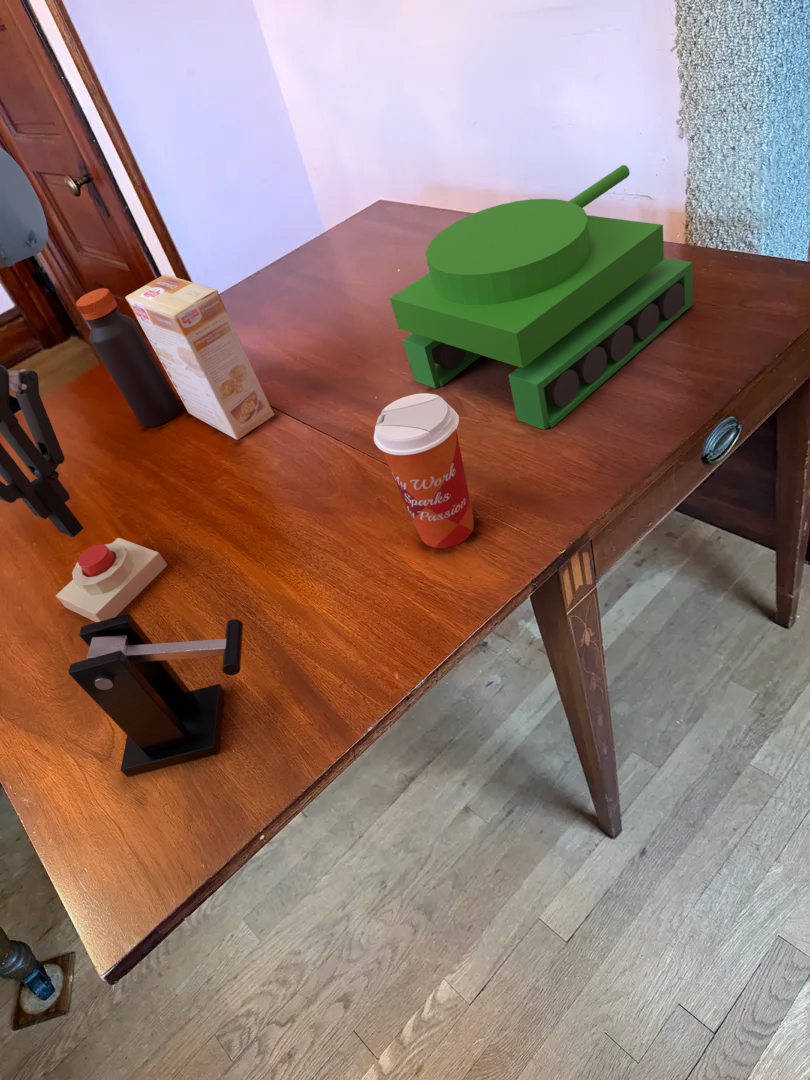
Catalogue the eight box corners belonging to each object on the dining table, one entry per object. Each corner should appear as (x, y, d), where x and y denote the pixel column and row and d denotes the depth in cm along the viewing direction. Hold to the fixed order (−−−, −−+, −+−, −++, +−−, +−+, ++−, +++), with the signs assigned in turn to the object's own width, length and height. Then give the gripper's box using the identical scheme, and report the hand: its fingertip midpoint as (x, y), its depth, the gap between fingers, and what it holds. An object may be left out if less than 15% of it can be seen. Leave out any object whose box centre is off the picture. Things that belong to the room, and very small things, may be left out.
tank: (719, 289, 100) (722, 162, 89) (547, 431, 87) (526, 305, 77) (575, 263, 116) (562, 153, 105) (413, 380, 104) (380, 269, 93)
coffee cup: (402, 557, 79) (359, 445, 69) (418, 504, 84) (381, 393, 74) (479, 555, 76) (446, 439, 66) (491, 500, 81) (462, 385, 71)
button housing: (105, 627, 83) (86, 604, 81) (65, 607, 88) (46, 585, 85) (167, 565, 88) (151, 541, 86) (127, 549, 93) (110, 526, 90)
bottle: (132, 427, 116) (59, 310, 102) (158, 401, 120) (91, 285, 106) (163, 429, 112) (92, 309, 99) (190, 402, 116) (124, 283, 103)
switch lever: (244, 633, 66) (241, 614, 64) (241, 678, 62) (238, 660, 60) (102, 643, 64) (95, 624, 63) (90, 690, 61) (82, 671, 59)
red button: (98, 580, 84) (89, 570, 83) (80, 572, 86) (71, 562, 85) (121, 558, 86) (113, 547, 84) (103, 551, 88) (95, 540, 86)
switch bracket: (224, 690, 72) (156, 597, 63) (219, 753, 67) (143, 662, 58) (138, 712, 73) (58, 624, 64) (126, 777, 68) (37, 690, 59)
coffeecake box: (276, 414, 107) (218, 288, 94) (237, 442, 104) (172, 316, 91) (224, 389, 117) (165, 271, 104) (187, 413, 114) (122, 296, 101)
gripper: (-125, 385, 61) (43, 580, 76) (5, 303, 67) (135, 498, 83) (-160, 376, 65) (6, 563, 80) (-35, 300, 72) (96, 486, 87)
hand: (71, 530), depth 82 cm, fingers closed
